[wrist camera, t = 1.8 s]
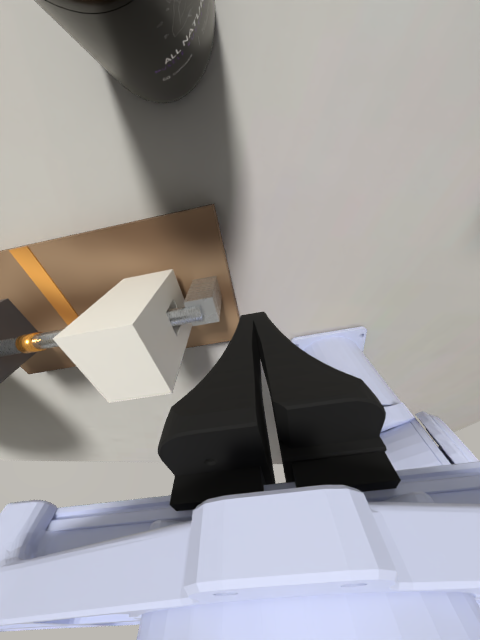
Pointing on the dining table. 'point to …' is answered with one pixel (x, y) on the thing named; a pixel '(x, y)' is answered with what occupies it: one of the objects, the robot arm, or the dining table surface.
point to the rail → (197, 311)
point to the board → (115, 273)
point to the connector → (13, 336)
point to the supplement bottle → (143, 40)
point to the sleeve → (130, 338)
